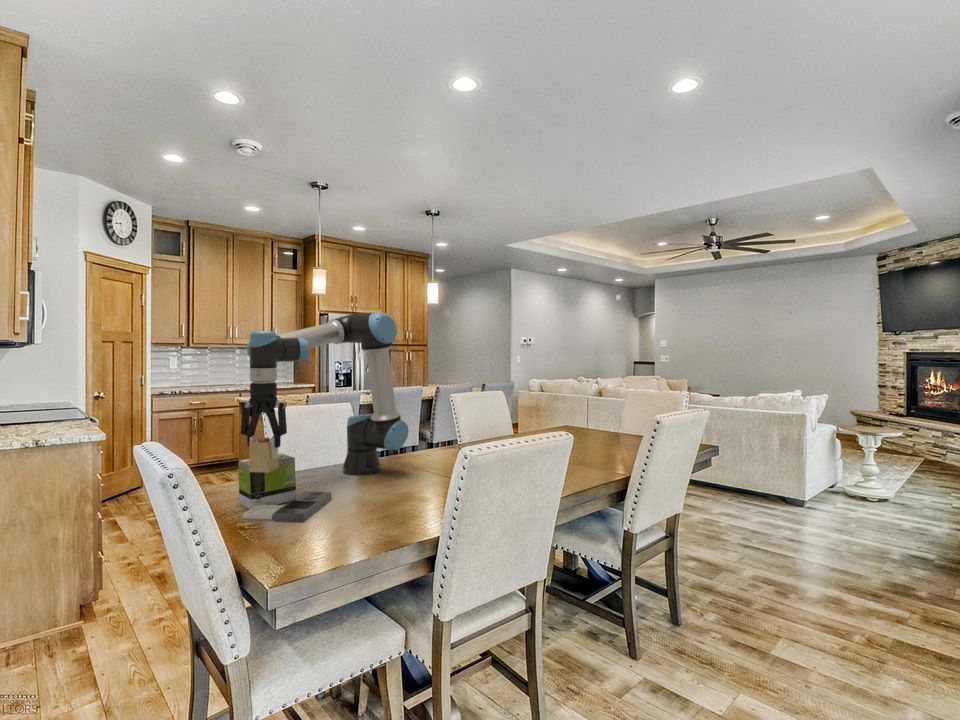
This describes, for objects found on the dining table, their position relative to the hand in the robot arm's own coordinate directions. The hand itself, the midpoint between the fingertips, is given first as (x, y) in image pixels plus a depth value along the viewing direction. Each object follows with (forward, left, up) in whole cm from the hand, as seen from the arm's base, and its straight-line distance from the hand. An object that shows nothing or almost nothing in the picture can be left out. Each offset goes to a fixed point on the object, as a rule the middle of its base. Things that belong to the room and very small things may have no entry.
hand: (264, 457), depth 158 cm
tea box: (-12, -5, -18) cm, 22 cm away
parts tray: (0, 0, -18) cm, 18 cm away
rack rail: (-6, +10, -18) cm, 21 cm away
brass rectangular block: (0, 0, -4) cm, 4 cm away
